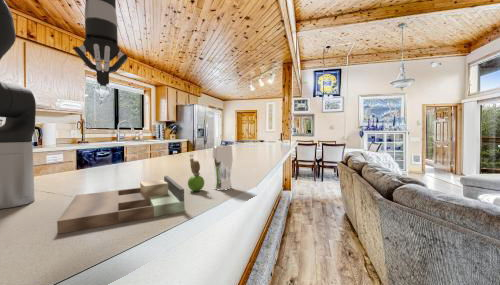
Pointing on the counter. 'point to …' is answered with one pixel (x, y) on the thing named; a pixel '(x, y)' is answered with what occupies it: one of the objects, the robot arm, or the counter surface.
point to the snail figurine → (195, 176)
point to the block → (154, 188)
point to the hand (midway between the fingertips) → (103, 85)
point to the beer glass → (222, 166)
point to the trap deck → (119, 207)
